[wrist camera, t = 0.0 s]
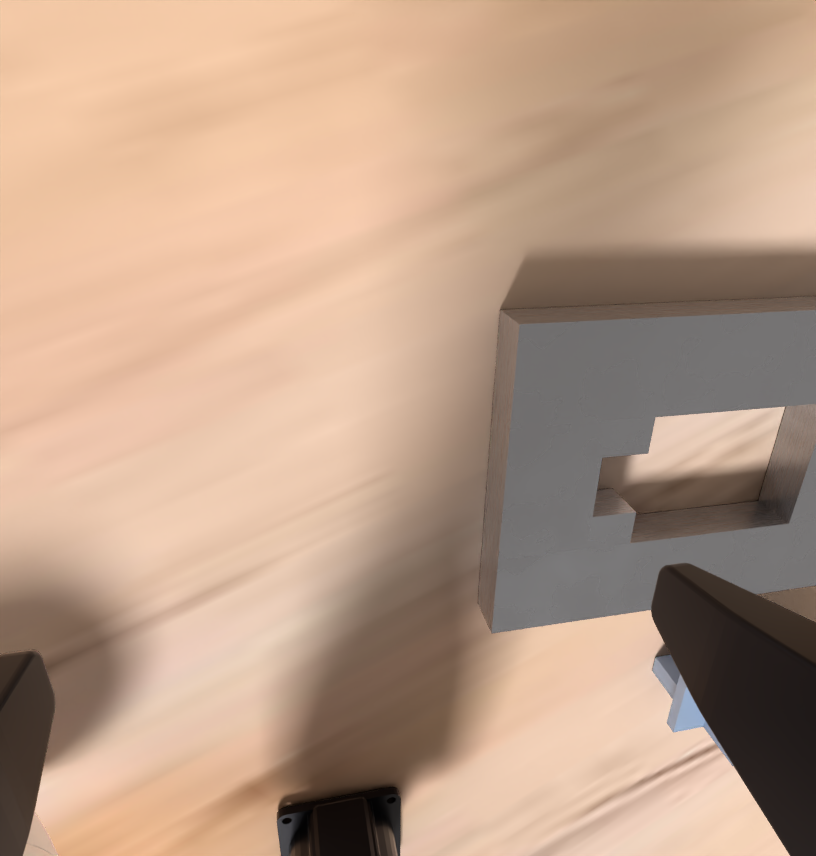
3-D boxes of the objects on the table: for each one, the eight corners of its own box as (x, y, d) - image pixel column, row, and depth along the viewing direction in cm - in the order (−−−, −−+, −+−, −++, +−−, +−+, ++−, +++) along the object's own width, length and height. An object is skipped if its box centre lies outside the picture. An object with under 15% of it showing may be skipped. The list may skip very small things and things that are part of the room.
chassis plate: (936, 290, 27) (983, 301, 25) (837, 553, 33) (869, 577, 31) (500, 309, 23) (519, 324, 21) (477, 602, 29) (491, 633, 27)
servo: (790, 664, 36) (874, 748, 31) (644, 690, 34) (709, 784, 29) (810, 612, 34) (902, 691, 29) (658, 636, 33) (728, 726, 28)
